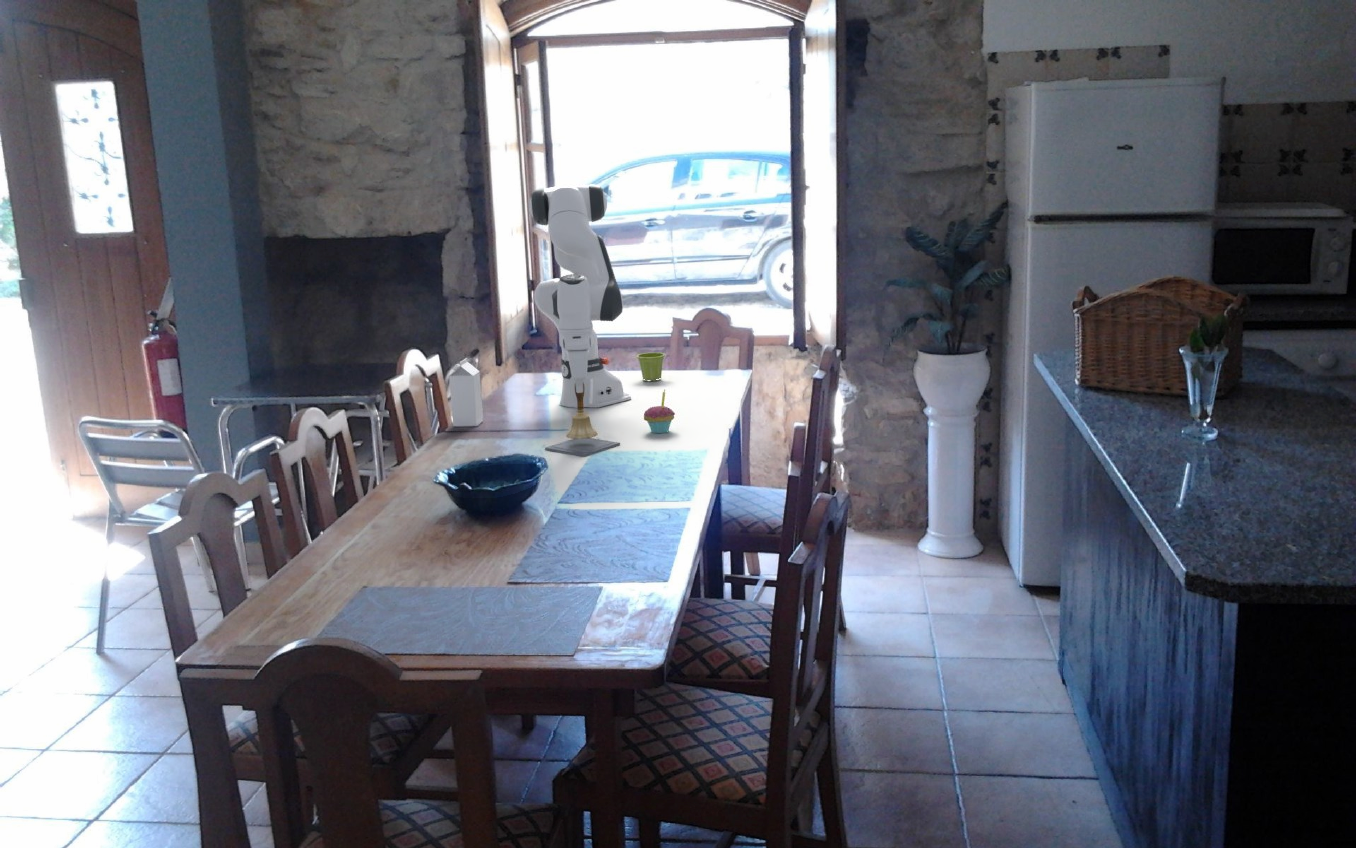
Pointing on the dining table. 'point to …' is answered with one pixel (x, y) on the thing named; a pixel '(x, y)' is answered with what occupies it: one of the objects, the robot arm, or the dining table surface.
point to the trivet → (582, 446)
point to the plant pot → (651, 365)
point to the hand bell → (581, 421)
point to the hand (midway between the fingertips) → (579, 390)
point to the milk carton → (466, 395)
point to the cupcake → (659, 417)
